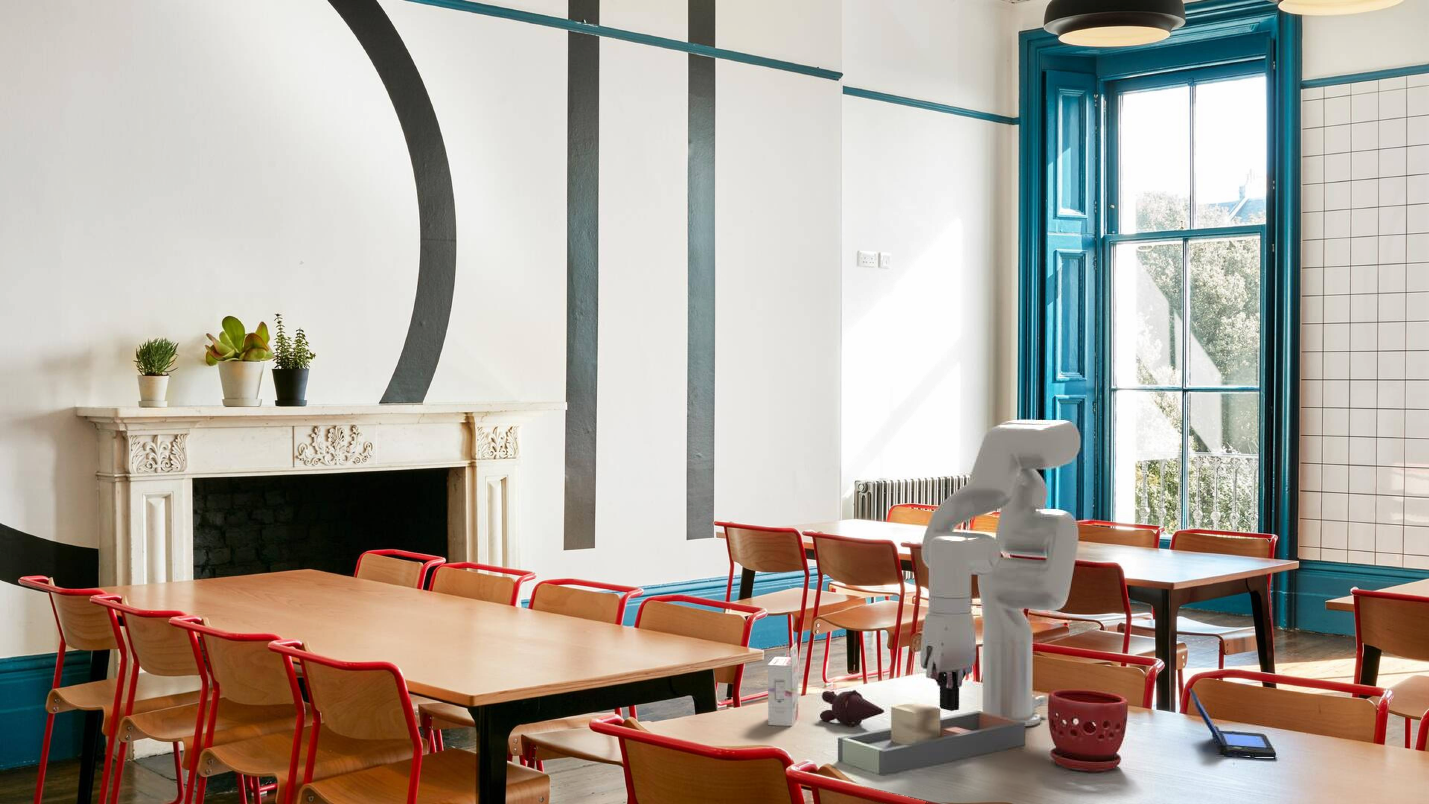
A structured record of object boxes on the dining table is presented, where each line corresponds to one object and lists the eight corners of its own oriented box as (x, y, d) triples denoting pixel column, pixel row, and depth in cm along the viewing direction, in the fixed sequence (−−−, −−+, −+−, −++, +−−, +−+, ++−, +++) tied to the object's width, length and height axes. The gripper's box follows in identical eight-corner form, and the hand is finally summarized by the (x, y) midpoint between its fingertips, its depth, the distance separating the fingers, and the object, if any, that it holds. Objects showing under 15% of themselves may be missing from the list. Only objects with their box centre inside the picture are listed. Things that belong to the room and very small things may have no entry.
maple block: (915, 736, 236) (915, 702, 236) (940, 743, 231) (940, 708, 231) (891, 741, 233) (891, 706, 233) (915, 748, 228) (915, 713, 228)
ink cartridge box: (773, 715, 263) (774, 640, 263) (798, 716, 262) (799, 641, 262) (766, 725, 254) (767, 648, 254) (792, 726, 253) (792, 649, 253)
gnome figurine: (896, 694, 253) (834, 689, 263) (873, 690, 248) (811, 685, 258) (893, 731, 251) (831, 725, 262) (870, 728, 246) (807, 722, 256)
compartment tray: (977, 732, 250) (977, 710, 250) (1025, 744, 240) (1025, 722, 240) (837, 760, 229) (837, 737, 229) (883, 775, 220) (884, 751, 220)
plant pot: (1115, 780, 218) (1115, 706, 218) (1037, 768, 225) (1037, 697, 225) (1136, 762, 229) (1136, 692, 229) (1061, 751, 236) (1061, 683, 236)
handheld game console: (1277, 762, 230) (1277, 708, 230) (1195, 756, 234) (1195, 703, 234) (1265, 740, 245) (1265, 690, 246) (1188, 735, 249) (1188, 685, 249)
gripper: (963, 600, 244) (962, 700, 244) (904, 606, 236) (904, 710, 235) (994, 605, 238) (993, 707, 238) (935, 612, 230) (935, 718, 229)
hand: (949, 708), depth 237 cm, fingers closed
